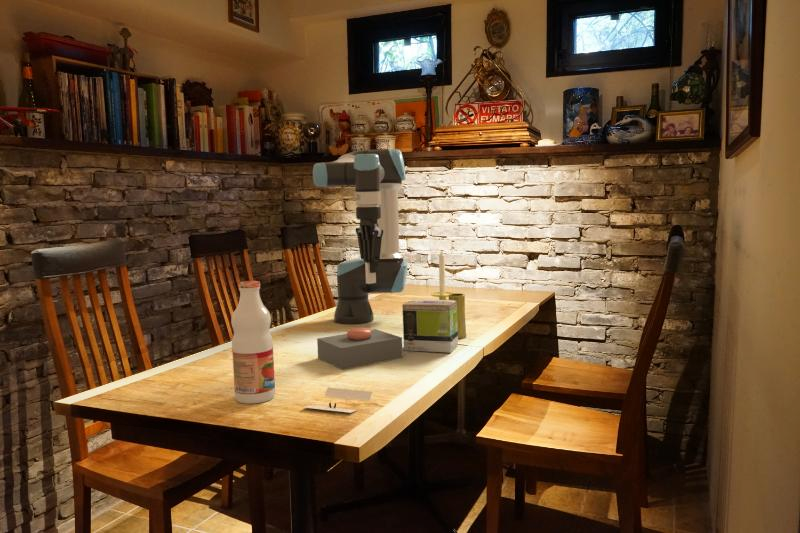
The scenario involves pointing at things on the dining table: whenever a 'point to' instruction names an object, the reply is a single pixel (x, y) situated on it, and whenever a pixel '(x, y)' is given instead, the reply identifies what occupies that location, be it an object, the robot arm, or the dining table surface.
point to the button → (359, 333)
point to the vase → (460, 313)
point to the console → (359, 349)
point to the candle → (442, 279)
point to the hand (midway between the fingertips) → (370, 282)
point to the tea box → (430, 325)
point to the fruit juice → (252, 347)
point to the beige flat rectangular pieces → (343, 394)
